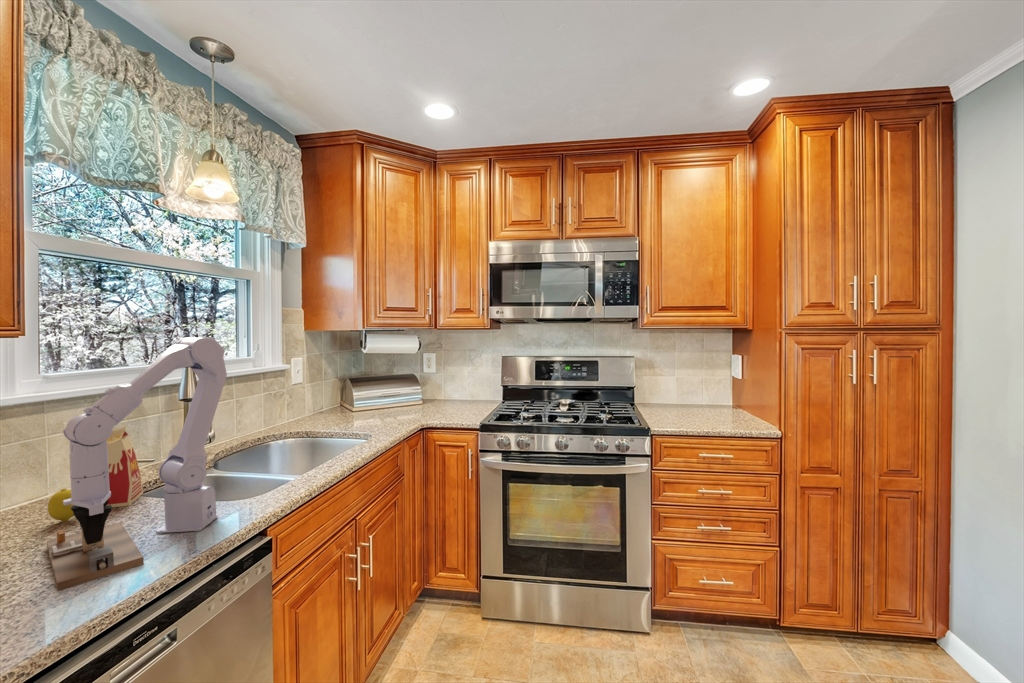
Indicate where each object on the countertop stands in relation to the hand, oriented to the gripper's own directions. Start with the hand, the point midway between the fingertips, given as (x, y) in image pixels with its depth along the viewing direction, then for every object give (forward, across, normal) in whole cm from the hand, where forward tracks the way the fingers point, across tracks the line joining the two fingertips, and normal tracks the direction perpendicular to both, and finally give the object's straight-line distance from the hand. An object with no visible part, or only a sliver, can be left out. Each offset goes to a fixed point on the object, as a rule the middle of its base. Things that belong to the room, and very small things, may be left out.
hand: (92, 540), depth 93 cm
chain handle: (+1, +4, -2) cm, 5 cm away
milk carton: (+3, -34, +8) cm, 35 cm away
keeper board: (+3, 0, 0) cm, 3 cm away
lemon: (+3, -27, -2) cm, 28 cm away
